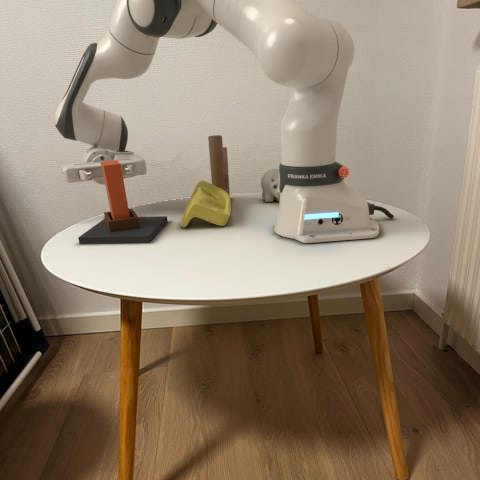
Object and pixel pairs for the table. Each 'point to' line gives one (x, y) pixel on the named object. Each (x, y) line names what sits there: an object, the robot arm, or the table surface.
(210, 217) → the plastic component
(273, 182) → the round bodied animal figurine
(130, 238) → the base pad
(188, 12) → the robot arm
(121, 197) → the orange rectangular block
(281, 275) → the table surface
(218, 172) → the wooden block
